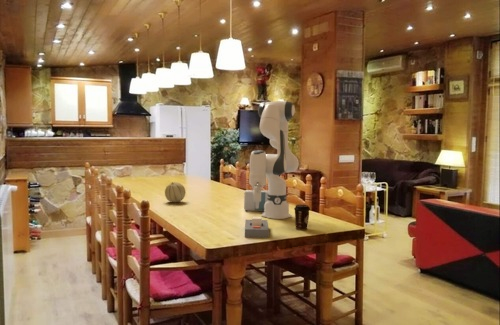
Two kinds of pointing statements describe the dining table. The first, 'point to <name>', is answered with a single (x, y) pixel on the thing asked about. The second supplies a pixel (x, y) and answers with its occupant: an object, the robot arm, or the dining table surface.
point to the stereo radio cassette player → (249, 200)
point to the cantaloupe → (175, 192)
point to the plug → (256, 221)
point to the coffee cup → (301, 216)
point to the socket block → (256, 229)
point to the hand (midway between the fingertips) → (256, 207)
